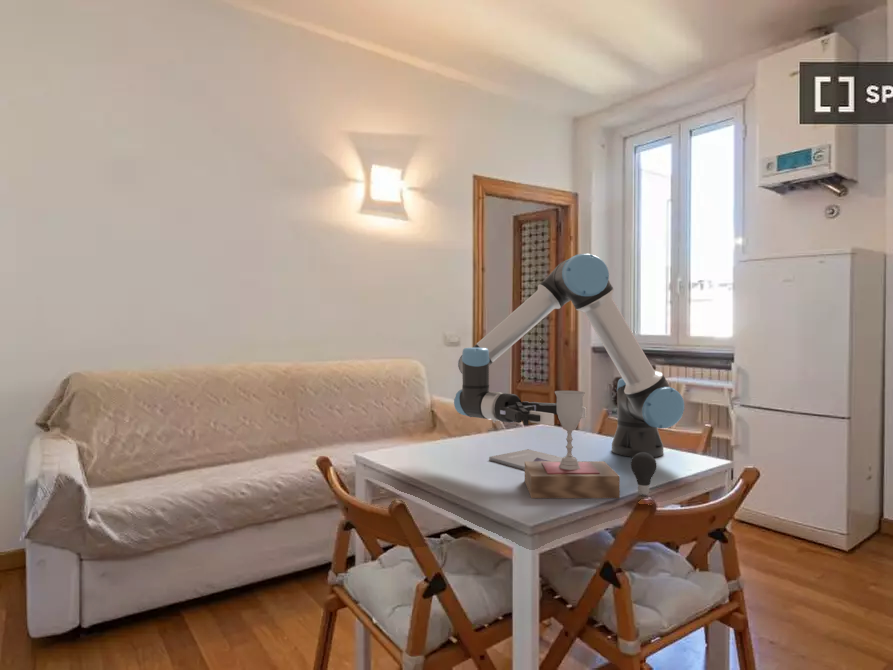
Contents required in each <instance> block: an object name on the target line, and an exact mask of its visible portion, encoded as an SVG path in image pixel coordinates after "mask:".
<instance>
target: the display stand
mask: <svg viewBox="0 0 893 670" xmlns="http://www.w3.org/2000/svg"><path fill="white" fill-rule="evenodd" d="M560 462H561V461H525V470H524V483H525V485H526V488H527V491H528V492H529V495H530V498H531V499H620V497H621V496H620V495H621V494H620V493H621V487H620V485H621V484H620V483H621V481H620V480H621V476H620V475H619V474H618V473H617V472H616V471H615V470H614V469H613V468H612V467H611V466H610V465H609V464H608V463H607V462H606V461H600V460H599V461H598V460H597V461H596V460H594V461H591V460H590V461H589V460H588V461H587V460H586V461H584V460H583V461H580V460H577V462H578V463H579V464H578V465H579V466H580V469H576V470H567V469H562V468H559V465H560Z"/></svg>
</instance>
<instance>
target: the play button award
mask: <svg viewBox="0 0 893 670" xmlns="http://www.w3.org/2000/svg"><path fill="white" fill-rule="evenodd" d="M562 458H563V457H562V456H557V455H554V454H551V453H550V454H549V453H545V452H542V451H537V450H534V449H523V450H517V451H512V452H507V453H502V454H497V455H492V456H489V457H488V459H489V461H491V462H494V463H497V464H501V465H503V466H504V465H505V466H507V465H508V467H511V468H515V469H519V470H522V471H525V461H561V460H562Z"/></svg>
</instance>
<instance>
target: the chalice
mask: <svg viewBox="0 0 893 670" xmlns="http://www.w3.org/2000/svg"><path fill="white" fill-rule="evenodd" d="M554 394H555V396H556V403H557V418H558V420H559V422H560V425H561V427H562V429H563V430H565V432H566V433H567V435H566V438H565V439H566V442H567V443H566V446H565V448H566V455H565V456H563V457H562V460H561V462H560V465H559V468H562V469H567V470H576V469H580V466H579V465H578V464H579V463H578V462H577V461H578V459H577V457H575V456H574V455H573V453H572V450H573V449H574V446H573V444H572V442H573V440H574V439H573V436H572V433H573V431H575V430H576V429H577V427H578V426H579V424H580V421H581V419H582V418H581V416H582V414H583V407H584V406H583V398H584V395H585V394H586V392H584V391H580V390H579V391H578V390H555V391H554Z"/></svg>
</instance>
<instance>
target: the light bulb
mask: <svg viewBox="0 0 893 670" xmlns="http://www.w3.org/2000/svg"><path fill="white" fill-rule="evenodd" d="M657 466H658V465H657V461H656V459H655V457H653V456H651V455H650V454H648V453H645V452H640V453H637V454H636V455H634V456H633V457H632V458H631V460H630V468H631V471H632V473H633V475H634V476H635V479H636V483H637V492H638V493H639V494H640V495H641V496H642V497H646V496H647V495H648V494H650V484H651V481H652V479H653V476H654V475H655V473H656V471H657Z"/></svg>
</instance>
